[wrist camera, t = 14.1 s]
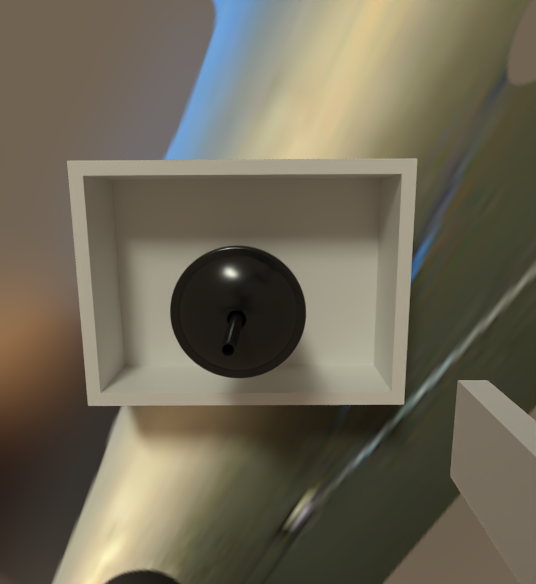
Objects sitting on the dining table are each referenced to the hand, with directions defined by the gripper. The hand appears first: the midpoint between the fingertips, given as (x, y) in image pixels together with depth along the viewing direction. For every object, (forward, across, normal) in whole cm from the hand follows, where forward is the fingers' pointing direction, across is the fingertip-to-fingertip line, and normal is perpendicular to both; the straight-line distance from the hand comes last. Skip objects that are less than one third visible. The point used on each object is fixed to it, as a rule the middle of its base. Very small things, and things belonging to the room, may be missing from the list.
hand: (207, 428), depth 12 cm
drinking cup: (+28, 0, 0) cm, 28 cm away
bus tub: (+28, 0, 0) cm, 28 cm away
